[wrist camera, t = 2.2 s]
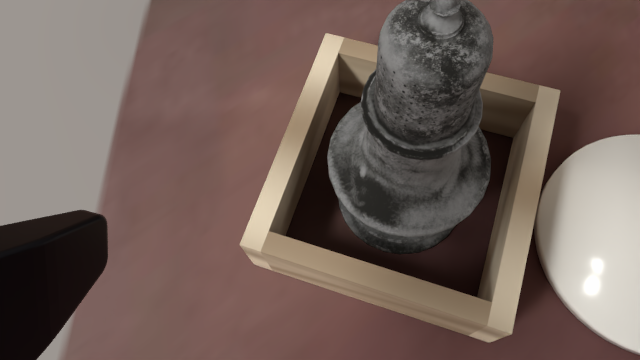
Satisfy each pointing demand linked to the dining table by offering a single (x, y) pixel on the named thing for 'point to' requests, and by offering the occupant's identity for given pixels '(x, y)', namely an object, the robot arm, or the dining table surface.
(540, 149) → the birch holder
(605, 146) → the coaster
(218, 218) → the dining table surface
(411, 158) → the grey tall domed piece
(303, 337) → the dining table surface
